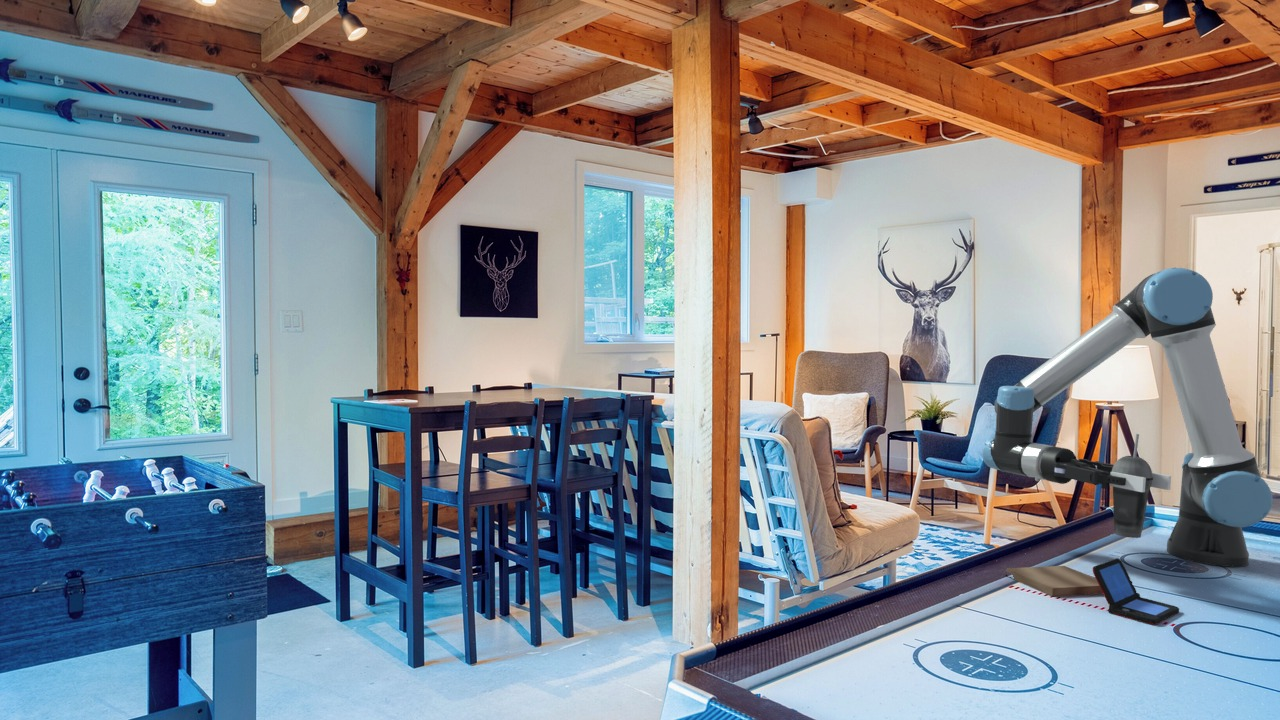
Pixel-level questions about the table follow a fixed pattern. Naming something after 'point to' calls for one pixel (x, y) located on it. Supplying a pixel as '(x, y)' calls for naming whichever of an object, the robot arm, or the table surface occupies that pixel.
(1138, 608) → the handheld game console
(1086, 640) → the table surface
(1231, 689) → the table surface
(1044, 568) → the walnut board
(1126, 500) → the beverage cup
